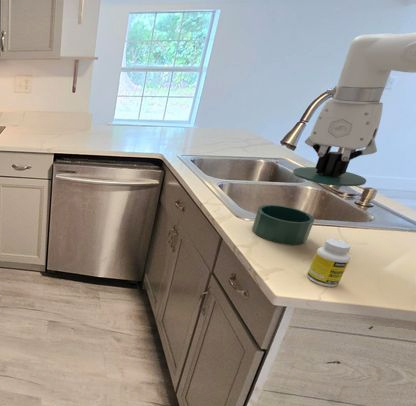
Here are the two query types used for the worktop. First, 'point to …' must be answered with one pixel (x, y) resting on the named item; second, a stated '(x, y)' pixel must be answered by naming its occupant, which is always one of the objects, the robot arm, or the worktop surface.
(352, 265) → the worktop surface
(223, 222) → the worktop surface
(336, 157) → the lid
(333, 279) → the supplement bottle
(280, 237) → the pot
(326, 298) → the worktop surface
